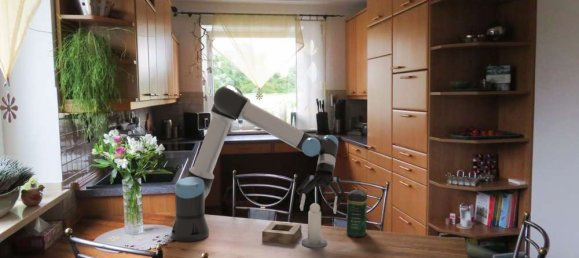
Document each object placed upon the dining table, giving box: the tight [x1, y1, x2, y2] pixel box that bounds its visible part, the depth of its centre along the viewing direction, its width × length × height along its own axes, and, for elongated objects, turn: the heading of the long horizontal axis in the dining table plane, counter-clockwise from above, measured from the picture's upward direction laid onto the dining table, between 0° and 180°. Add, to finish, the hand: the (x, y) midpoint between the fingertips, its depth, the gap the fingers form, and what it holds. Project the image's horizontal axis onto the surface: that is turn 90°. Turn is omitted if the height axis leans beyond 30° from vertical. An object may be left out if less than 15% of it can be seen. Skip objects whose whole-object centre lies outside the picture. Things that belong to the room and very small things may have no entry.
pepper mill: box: [307, 202, 322, 244], centre depth 163 cm, size 5×5×16 cm
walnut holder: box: [261, 221, 302, 245], centre depth 170 cm, size 13×13×4 cm
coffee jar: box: [346, 188, 368, 238], centre depth 174 cm, size 10×8×19 cm
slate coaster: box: [301, 237, 328, 249], centre depth 163 cm, size 10×10×1 cm
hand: (317, 210), depth 165 cm, fingers open, 13 cm apart
